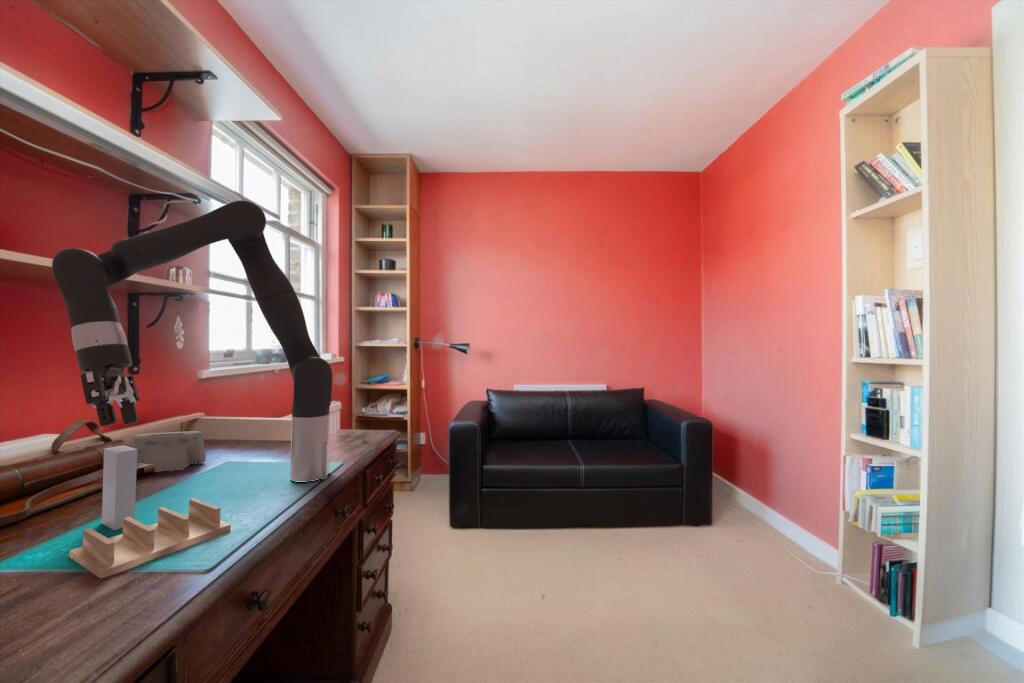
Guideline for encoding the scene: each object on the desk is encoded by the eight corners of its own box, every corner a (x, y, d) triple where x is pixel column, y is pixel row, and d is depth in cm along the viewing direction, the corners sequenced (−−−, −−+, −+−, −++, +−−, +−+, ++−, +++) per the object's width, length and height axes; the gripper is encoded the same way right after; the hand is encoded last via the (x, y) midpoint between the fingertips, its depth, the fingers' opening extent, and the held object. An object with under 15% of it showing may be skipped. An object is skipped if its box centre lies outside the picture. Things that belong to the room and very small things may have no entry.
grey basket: (209, 462, 118) (210, 427, 118) (190, 472, 109) (191, 434, 109) (148, 464, 115) (149, 429, 115) (123, 474, 106) (125, 436, 106)
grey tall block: (121, 517, 80) (124, 445, 80) (134, 524, 77) (137, 449, 77) (101, 523, 77) (104, 448, 77) (114, 530, 75) (116, 452, 75)
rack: (195, 516, 81) (196, 495, 81) (230, 530, 75) (231, 507, 75) (69, 557, 65) (70, 530, 65) (100, 579, 59) (101, 550, 59)
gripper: (106, 337, 74) (127, 419, 73) (142, 347, 87) (159, 417, 86) (52, 347, 71) (73, 432, 70) (98, 355, 84) (115, 428, 83)
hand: (121, 423), depth 78 cm, fingers open, 8 cm apart
